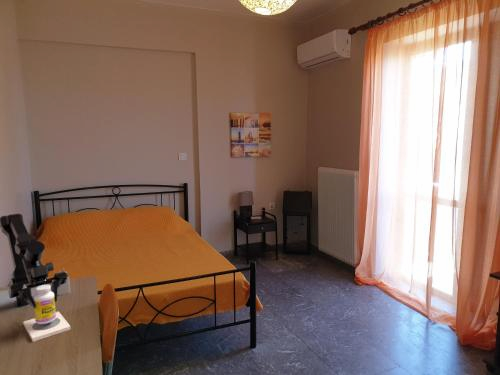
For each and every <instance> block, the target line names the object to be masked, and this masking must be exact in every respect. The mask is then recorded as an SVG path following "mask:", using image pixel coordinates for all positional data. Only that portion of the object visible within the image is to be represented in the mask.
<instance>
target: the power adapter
mask: <svg viewBox="0 0 500 375" xmlns="http://www.w3.org/2000/svg"><path fill="white" fill-rule="evenodd" d="M62 269H63V270H62V272H66V273H67V274H68V271H65V268H64V267H62ZM60 272H61V271H60V270H58V273H60ZM66 293H68V294H71V284H70V277H69V275H68V278H67V280H66V283H65V284H62V285H60V287H58V289H57V295H59V296H63V295H66ZM62 294H63V295H62Z"/></svg>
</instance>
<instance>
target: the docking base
mask: <svg viewBox="0 0 500 375" xmlns="http://www.w3.org/2000/svg"><path fill="white" fill-rule="evenodd" d="M23 326H24V328H25V330H26V332H27V334H28V335H29V338H30V339H31V341H32V343H33V342H37V341H39V340H43V339H45V338H48V337H52V336H54V335H55V336H56V335H58V334H60V333H64V332H67V331H70V330H71V329H72V328H71V325H70V324H69V323H68V321H67V320H66V319H65V317H64V316H63V315H62V313H61V312H60V311H56V318H55V320H54V321H52V322H50V323H47V324H37V323H36V321H35V317H34V318H31V319H28V320H24V321H23Z"/></svg>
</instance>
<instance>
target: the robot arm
mask: <svg viewBox="0 0 500 375" xmlns="http://www.w3.org/2000/svg"><path fill="white" fill-rule="evenodd" d="M26 227H27V226H26V225H25V223H24V218H23V214H21V213H12V214H7V215H1V216H0V230H1V233H3V235H5V236H6V238H7V241H8V247H9V252H10V255H11V260H12V265H13V268H14V269H13V270H12V273H11V278H10V281H9V289H8V295H9V299H13V298H15V300H14V301H13V302H14V305H15V306H16V308H18V307H22V306H25V305H30V306H31V307H32V308H33V309H34V308H36V306H35V302H34V299H33V298H34V297H33V295H32V289H36V288H37V287H38V286H41V285H50V284H51V289H50V291H51V292H53V293H54V297H55V303H56V302H58V296H57V289H58V287H60V285H62V284H65V283H66V280H67V278H68V276H69V275H68V272H67V271H64V272H63V271H60V273H59V272H56V273H54V275H53V277H50V278H48V277H49V274H50V272H53V271H54V270H55V268H54V265H53V262H52V261H50V262H46V263H45V265H44V264H42V260H41V259H42V258H43V255H44V251H45V243H43V242H41V241H39V240H38V239H37V238H36V237H35V235H32V234H30V233H29V231H28V229H27V228H26ZM66 272H67V273H66Z"/></svg>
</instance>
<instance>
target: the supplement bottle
mask: <svg viewBox="0 0 500 375" xmlns="http://www.w3.org/2000/svg"><path fill="white" fill-rule="evenodd" d="M51 287H52V285H50V284H47V285H41V286H38V287H35V292H36V294H35V295H34V296H33V297H32V298H33V300H34V302H35V306H36V308H33V309H34V318H35V321H36V323H37V324H47V323H50V322H52V321H54V320H55V318H56V312H57V311H56V302H55V297H54V293H53V292H52V291H51Z"/></svg>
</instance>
